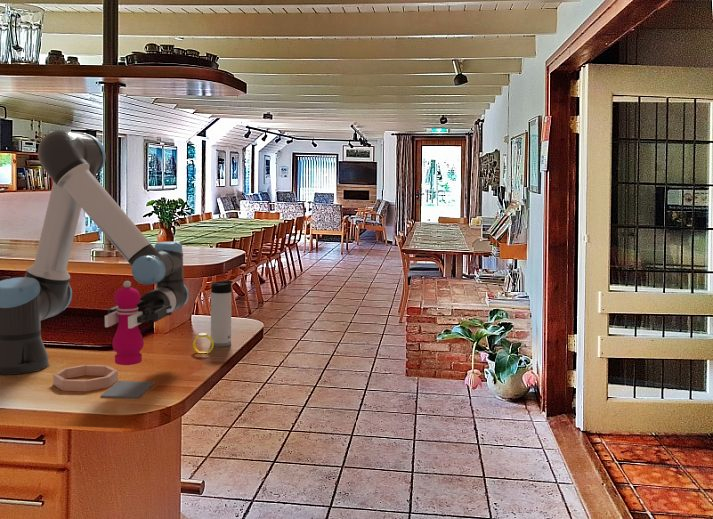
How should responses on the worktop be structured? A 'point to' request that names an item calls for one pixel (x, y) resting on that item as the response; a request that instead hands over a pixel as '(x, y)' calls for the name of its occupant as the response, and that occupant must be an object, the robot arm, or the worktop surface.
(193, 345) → the watch
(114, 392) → the mat
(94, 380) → the octagonal frame ring
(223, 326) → the travel mug
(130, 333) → the pepper mill
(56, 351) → the worktop surface
